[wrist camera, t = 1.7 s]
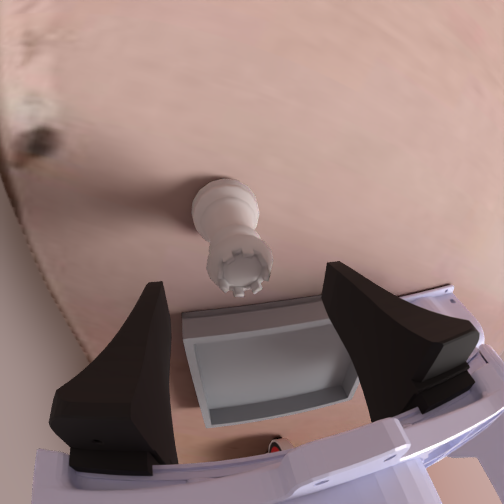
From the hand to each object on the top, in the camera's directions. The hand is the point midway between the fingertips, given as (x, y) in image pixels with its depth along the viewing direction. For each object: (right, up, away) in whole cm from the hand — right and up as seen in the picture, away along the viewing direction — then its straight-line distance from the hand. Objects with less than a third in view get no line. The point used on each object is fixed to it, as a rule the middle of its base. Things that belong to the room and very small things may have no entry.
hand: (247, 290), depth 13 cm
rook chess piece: (-2, +5, +8) cm, 9 cm away
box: (+3, -9, +17) cm, 20 cm away
